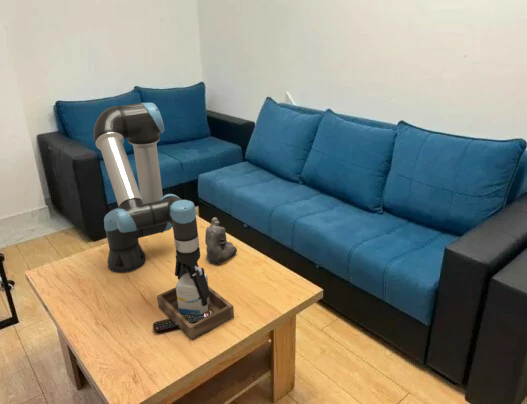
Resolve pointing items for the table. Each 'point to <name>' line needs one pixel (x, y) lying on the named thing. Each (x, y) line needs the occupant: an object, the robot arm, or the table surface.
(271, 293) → the table surface
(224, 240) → the figurine
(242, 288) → the table surface
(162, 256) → the table surface
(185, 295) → the ink box
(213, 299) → the tray
